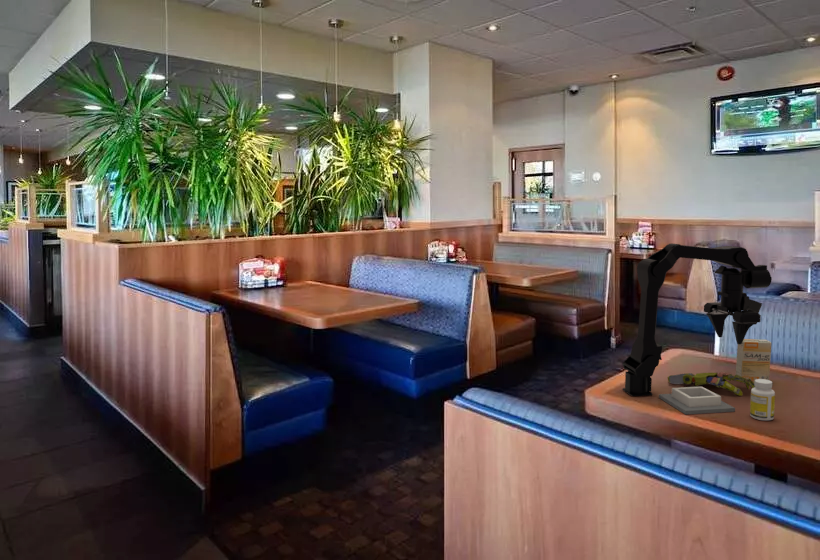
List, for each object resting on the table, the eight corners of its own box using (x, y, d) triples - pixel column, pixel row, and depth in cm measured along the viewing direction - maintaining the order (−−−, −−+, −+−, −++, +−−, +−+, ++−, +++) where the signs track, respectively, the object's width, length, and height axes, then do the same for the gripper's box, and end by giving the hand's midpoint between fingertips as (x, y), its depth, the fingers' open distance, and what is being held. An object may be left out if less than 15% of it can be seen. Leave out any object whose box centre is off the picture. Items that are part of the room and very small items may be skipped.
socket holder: (685, 414, 159) (686, 401, 158) (658, 397, 173) (659, 385, 172) (735, 411, 160) (735, 399, 160) (704, 394, 174) (704, 383, 174)
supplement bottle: (765, 413, 158) (767, 377, 157) (778, 420, 153) (780, 383, 152) (745, 414, 158) (747, 378, 157) (757, 421, 153) (759, 384, 152)
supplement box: (740, 383, 184) (742, 341, 183) (735, 378, 189) (737, 338, 187) (769, 383, 183) (772, 342, 181) (763, 379, 188) (765, 338, 186)
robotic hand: (672, 372, 192) (761, 370, 178) (674, 396, 191) (764, 395, 177) (663, 374, 182) (757, 372, 168) (666, 399, 181) (761, 398, 167)
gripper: (780, 292, 167) (776, 346, 169) (737, 283, 186) (735, 332, 188) (742, 294, 166) (739, 348, 168) (703, 285, 185) (701, 334, 187)
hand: (729, 340), depth 178 cm, fingers open, 9 cm apart
